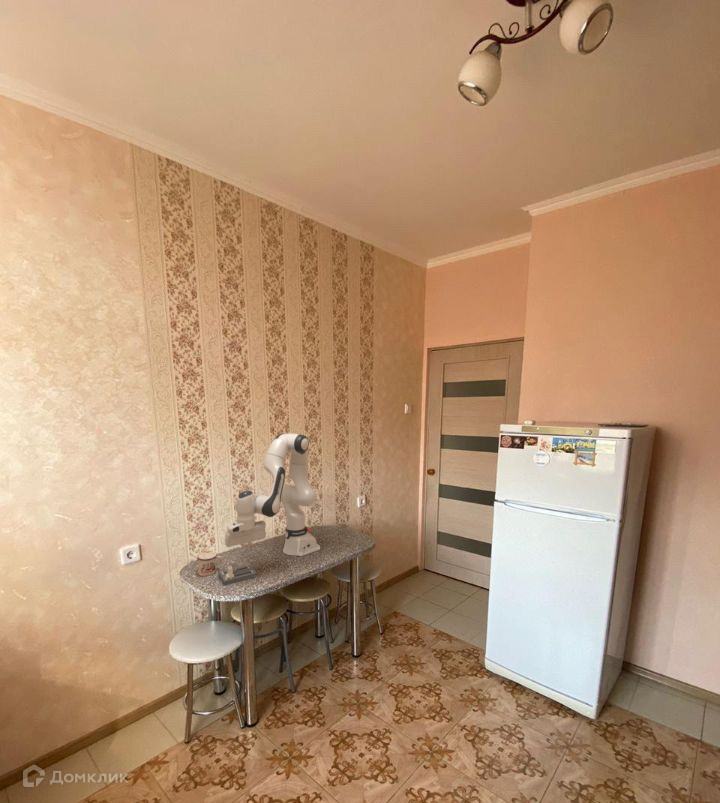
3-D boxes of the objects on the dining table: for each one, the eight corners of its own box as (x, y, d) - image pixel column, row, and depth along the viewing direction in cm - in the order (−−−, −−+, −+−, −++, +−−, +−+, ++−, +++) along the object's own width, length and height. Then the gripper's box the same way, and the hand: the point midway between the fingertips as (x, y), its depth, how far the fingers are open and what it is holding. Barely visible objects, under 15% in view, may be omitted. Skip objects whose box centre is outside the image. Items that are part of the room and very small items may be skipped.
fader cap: (232, 574, 183) (232, 565, 183) (234, 577, 180) (234, 567, 180) (225, 576, 181) (225, 566, 181) (227, 578, 178) (227, 569, 178)
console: (249, 568, 195) (249, 556, 195) (256, 576, 186) (256, 563, 186) (218, 576, 186) (218, 563, 186) (224, 585, 177) (224, 571, 177)
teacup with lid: (199, 578, 183) (200, 555, 183) (195, 571, 190) (196, 549, 190) (224, 572, 190) (224, 550, 190) (219, 565, 197) (220, 544, 197)
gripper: (263, 518, 193) (263, 543, 194) (223, 526, 182) (224, 553, 182) (267, 521, 188) (267, 547, 189) (227, 530, 177) (227, 558, 177)
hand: (246, 550), depth 185 cm, fingers closed
